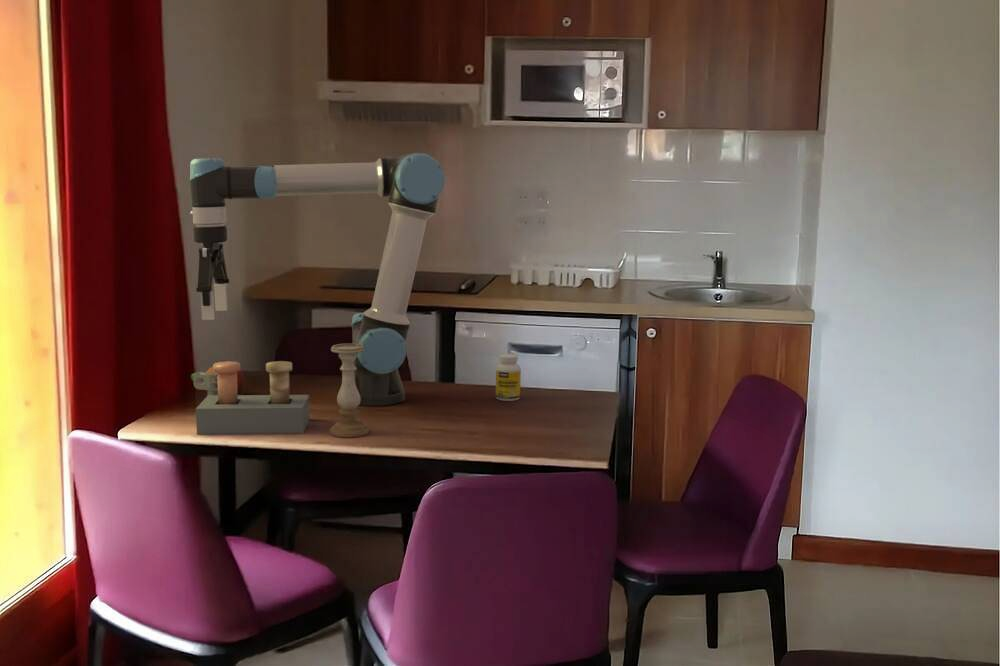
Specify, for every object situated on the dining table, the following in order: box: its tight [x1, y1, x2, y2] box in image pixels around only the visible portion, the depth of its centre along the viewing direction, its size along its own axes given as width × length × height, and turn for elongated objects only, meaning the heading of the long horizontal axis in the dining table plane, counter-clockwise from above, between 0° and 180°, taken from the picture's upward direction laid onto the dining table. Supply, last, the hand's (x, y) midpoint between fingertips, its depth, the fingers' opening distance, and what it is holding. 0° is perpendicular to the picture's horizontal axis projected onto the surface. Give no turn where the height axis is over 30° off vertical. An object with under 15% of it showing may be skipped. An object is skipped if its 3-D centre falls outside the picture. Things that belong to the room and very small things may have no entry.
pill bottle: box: [495, 353, 522, 402], centre depth 269 cm, size 6×6×12 cm
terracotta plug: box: [212, 360, 241, 404], centre depth 237 cm, size 6×6×10 cm
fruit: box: [206, 359, 246, 395], centre depth 266 cm, size 11×10×10 cm
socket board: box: [195, 394, 311, 435], centre depth 239 cm, size 24×13×6 cm, turn 94°
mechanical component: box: [190, 371, 218, 397], centre depth 250 cm, size 3×10×10 cm, turn 78°
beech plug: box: [265, 360, 293, 404], centre depth 238 cm, size 6×6×10 cm
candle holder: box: [329, 343, 369, 438], centre depth 233 cm, size 9×9×20 cm
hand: (215, 315), depth 242 cm, fingers open, 13 cm apart
